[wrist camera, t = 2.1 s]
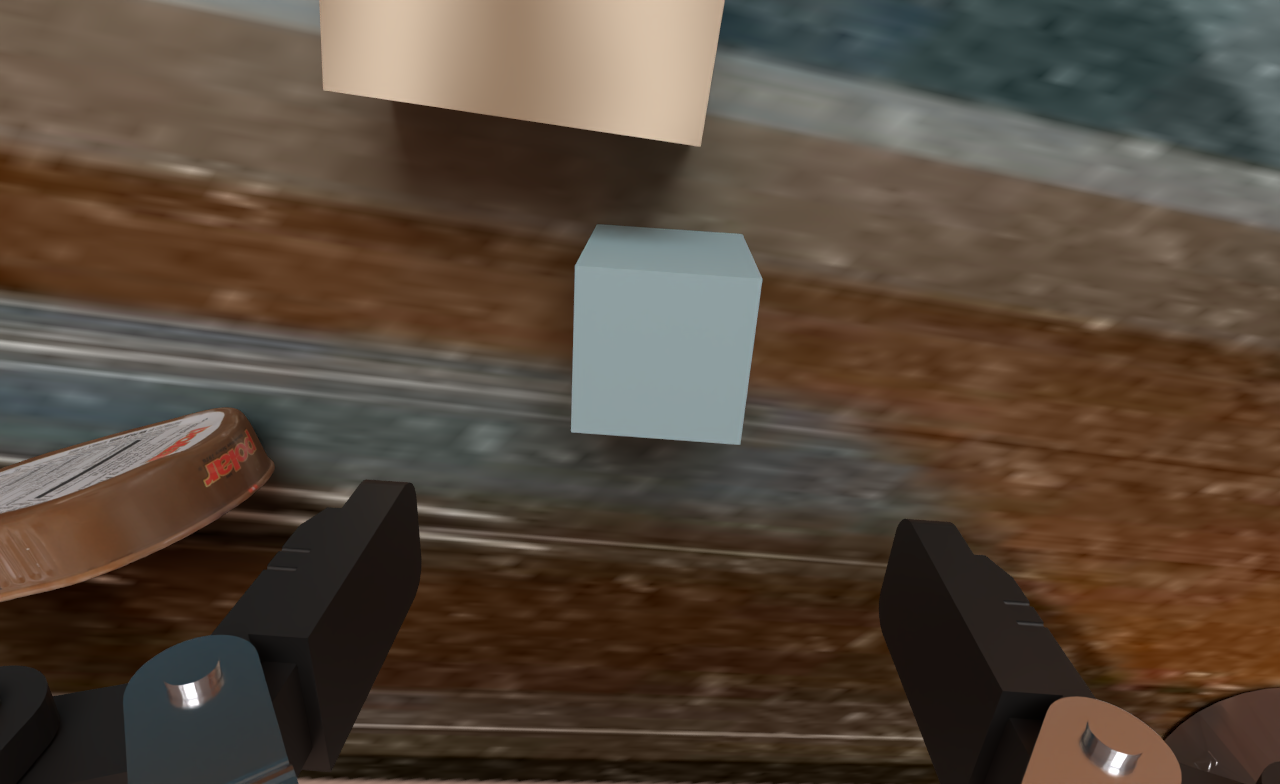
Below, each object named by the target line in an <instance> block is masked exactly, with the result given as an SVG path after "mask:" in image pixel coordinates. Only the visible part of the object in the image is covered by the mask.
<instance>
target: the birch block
mask: <svg viewBox="0 0 1280 784" xmlns="http://www.w3.org/2000/svg"><path fill="white" fill-rule="evenodd" d="M319 1H320V24H321V48H322V71H323V90H326V91H333V92H339V93H346V94H353V95H359V96H366V97H373V98H379V99H386V100H393V101H399V102H406V103H413V104H419V105H426V106H433V107H439V108H446V109H453V110H459V111H466V112H473V113H479V114H486V115H493V116H499V117H506V118H513V119H519V120H526V121H533V122H539V123H546V124H553V125H559V126H566V127H573V128H579V129H586V130H593V131H599V132H606V133H613V134H619V135H626V136H633V137H639V138H646V139H653V140H659V141H666V142H673V143H679V144H686V145H693V146H699V147H701V141H702V135H703V129H704V123H705V116H706V110H707V104H708V98H709V92H710V86H711V80H712V74H713V68H714V62H715V56H716V50H717V44H718V37H719V31H720V25H721V19H722V13H723V7H724V1H725V0H319Z"/></svg>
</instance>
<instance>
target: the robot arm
mask: <svg viewBox="0 0 1280 784" xmlns="http://www.w3.org/2000/svg"><path fill="white" fill-rule="evenodd" d="M420 574H421V549H420V537H419V524H418V512H417V500H416V492H415V488H414V486H413V484H412V483H407V482H393V481H379V480H364V481H362V482H361V484H360V485H359V486H358V487H357V489H356V490H355V491H354V493H353V494H352V495H351V497H350V498H349V499H348V501H347V502H346V503H345V505H344V506H343V507H342V508H326V509H325V510H323V511H322V512H320V513H318V514H317V515H315V516H314V517H312V518H311V519H309V520H307V521H306V522H304V523H303V524H301V525H300V526H299V527H298V528H297V530H296V531H295V532H294V533H293V534H292V536H291V537H290V538H289V539H288V541H287V542H286V543H285V544H284V546H283V547H282V551H281V552H280V551H279V552H278V553H277V554H276V555H275V557H274V558H273V559H272V560H271V562H270V563H269V564H268V567H267V570H263V571H262V573H261V574H260V575H259V576H258V578H257V579H256V580H255V581H254V582H253V584H252V585H251V586H250V587H249V589H248V590H247V591H246V592H245V594H244V595H243V596H242V597H241V598H240V600H239V601H238V602H237V603H236V605H235V606H234V607H233V608H232V610H231V611H230V612H229V613H228V614H227V616H226V617H225V618H224V619H223V621H222V622H221V623H220V624H219V626H218V627H217V628H216V629H215V630H214V632H213V633H212V634H211V635H210V636H204V637H198V638H195V639H191V640H188V641H185V642H182V643H180V644H177V645H175V646H173V647H171V648H169V649H167V650H165V651H163V652H161V653H160V654H158V655H156V656H155V657H153V658H152V659H151V660H149V661H148V662H147V663H146V664H144V665H143V666H142V667H141V668H140V669H139V670H138V671H137V672H136V673H135V675H134V676H133V677H132V678H131V680H130V682H129V683H127V684H122V685H117V686H111V687H105V688H99V689H93V690H88V691H82V692H76V693H70V694H64V695H58V696H52V694H51V691H50V689H49V686H48V683H47V681H46V678H45V677H44V675H43V674H42V673H41V672H39V671H37V670H36V669H33V668H30V667H25V666H2V667H0V784H298V781H297V777H298V775H299V773H300V771H301V770H312V771H326V772H331V771H332V768H333V766H334V764H335V762H336V760H337V758H338V756H339V754H340V752H341V750H342V748H343V746H344V743H345V741H346V739H347V737H348V735H349V733H350V731H351V729H352V727H353V725H354V723H355V721H356V719H357V716H358V714H359V712H360V710H361V708H362V706H363V704H364V702H365V700H366V698H367V696H368V694H369V692H370V689H371V687H372V685H373V683H374V681H375V679H376V677H377V675H378V673H379V671H380V669H381V667H382V665H383V662H384V660H385V658H386V656H387V654H388V652H389V650H390V648H391V646H392V644H393V642H394V640H395V637H396V635H397V633H398V631H399V629H400V627H401V625H402V623H403V621H404V619H405V617H406V615H407V613H408V610H409V608H410V606H411V604H412V602H413V600H414V598H415V595H416V592H417V589H418V585H419V581H420ZM879 618H880V625H881V629H882V633H883V636H884V638H885V641H886V643H887V646H888V649H889V651H890V654H891V656H892V659H893V662H894V664H895V667H896V669H897V672H898V675H899V677H900V680H901V682H902V685H903V688H904V690H905V693H906V695H907V698H908V700H909V703H910V706H911V708H912V711H913V713H914V716H915V719H916V721H917V724H918V726H919V729H920V732H921V734H922V737H923V739H924V742H925V745H926V747H927V750H928V752H929V755H930V757H931V760H932V763H933V765H934V768H935V770H936V773H937V776H938V778H939V781H940V783H941V784H1280V688H1269V689H1262V690H1257V691H1252V692H1248V693H1243V694H1239V695H1237V696H1234V697H1231V698H1228V699H1225V700H1222V701H1219V702H1217V703H1215V704H1213V705H1211V706H1209V707H1207V708H1205V709H1203V710H1201V711H1199V712H1198V713H1196V714H1195V715H1193V716H1192V717H1190V718H1189V719H1188V720H1186V721H1185V722H1183V723H1182V724H1181V725H1179V726H1178V727H1177V728H1176V729H1175V730H1174V731H1173V732H1172V733H1171V734H1170V735H1169V736H1168V737H1167V738H1166V740H1165V741H1164V740H1163V739H1162V738H1161V737H1160V736H1159V735H1158V734H1157V733H1156V732H1155V731H1153V730H1152V729H1151V728H1150V727H1149V726H1147V725H1146V724H1145V723H1143V722H1142V721H1141V720H1139V719H1138V718H1136V717H1135V716H1133V715H1131V714H1130V713H1128V712H1126V711H1124V710H1122V709H1120V708H1118V707H1116V706H1114V705H1111V704H1109V703H1106V702H1103V701H1100V700H1096V698H1095V697H1094V695H1093V694H1092V693H1091V691H1090V690H1089V688H1088V687H1087V685H1086V684H1085V682H1084V681H1083V679H1082V678H1081V677H1080V675H1079V674H1078V672H1077V671H1076V669H1075V668H1074V666H1073V665H1072V663H1071V662H1070V660H1069V659H1068V658H1067V656H1066V655H1065V653H1064V652H1063V650H1062V649H1061V647H1060V646H1059V644H1058V643H1057V642H1056V640H1055V639H1054V637H1053V636H1052V634H1051V633H1050V631H1049V630H1048V628H1044V627H1043V621H1042V620H1041V618H1040V617H1039V615H1038V614H1037V612H1036V611H1035V609H1034V608H1033V607H1030V606H1029V601H1028V599H1027V598H1026V596H1025V595H1024V593H1023V592H1022V591H1021V589H1020V588H1019V586H1018V585H1017V583H1016V582H1015V580H1014V579H1013V577H1011V576H1010V575H1009V574H1008V573H1006V572H1005V571H1004V570H1003V569H1001V568H1000V567H999V566H998V565H996V564H995V563H994V562H993V561H991V560H990V559H989V558H988V557H986V556H984V555H974V554H973V553H972V551H971V550H970V548H969V547H968V545H967V543H966V542H965V540H964V539H963V537H962V536H961V534H960V532H959V531H958V529H957V528H956V526H955V525H954V524H953V523H951V522H940V521H926V520H912V519H904V520H902V521H901V522H900V523H899V525H898V527H897V530H896V534H895V538H894V542H893V546H892V549H891V553H890V557H889V561H888V565H887V569H886V573H885V577H884V581H883V585H882V589H881V593H880V600H879Z"/></svg>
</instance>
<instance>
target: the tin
mask: <svg viewBox="0 0 1280 784" xmlns="http://www.w3.org/2000/svg"><path fill="white" fill-rule="evenodd" d="M274 469H275V465H274V462H273V461H272V460H271V459H270V458H268V456H267V455H266V453H265V451H264V449H263V447H262V445H261V443H260V441H259V439H258V437H257V435H256V433H255V431H254V429H253V427H252V426H251V424H250V422H249V421H248V419H247V418H246V416H245V415H244V414H243V413H242V412H241V411H239V410H237V409H235V408H227V407H225V408H215V409H210V410H205V411H201V412H196V413H193V414H189V415H185V416H182V417H178V418H174V419H170V420H166V421H162V422H158V423H155V424H151V425H147V426H143V427H139V428H135V429H131V430H127V431H123V432H120V433H116V434H113V435H109V436H105V437H102V438H98V439H95V440H91V441H87V442H84V443H80V444H77V445H73V446H70V447H67V448H63V449H60V450H56V451H53V452H49V453H46V454H43V455H40V456H37V457H34V458H30V459H27V460H25V461H22V462H19V463H16V464H13V465H10V466H7V467H5V468H2V469H0V602H2V601H7V600H12V599H15V598H19V597H23V596H28V595H32V594H37V593H42V592H47V591H51V590H55V589H58V588H62V587H66V586H70V585H73V584H77V583H80V582H83V581H86V580H89V579H92V578H94V577H97V576H99V575H102V574H105V573H108V572H110V571H113V570H116V569H119V568H121V567H123V566H126V565H128V564H129V563H132V562H134V561H137V560H139V559H141V558H143V557H146V556H148V555H150V554H152V553H154V552H157V551H159V550H161V549H163V548H166V547H167V546H169V545H171V544H173V543H175V542H177V541H179V540H181V539H183V538H185V537H187V536H189V535H190V534H192V533H194V532H196V531H197V530H199V529H201V528H203V527H205V526H207V525H208V524H210V523H212V522H213V521H215V520H217V519H218V518H220V517H221V516H223V515H224V514H226V513H227V512H229V511H231V510H232V509H233V508H235V507H236V506H238V505H239V504H241V503H242V502H244V501H245V500H247V499H248V498H249V497H250V496H252V495H253V494H254V493H255V492H256V491H257V490H259V489H260V488H261V487H262V486H263V485H264V484H265V483H266V482H267V481H268V480H269V478H270V477H271V475H272V473H273V472H274Z"/></svg>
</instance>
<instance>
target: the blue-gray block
mask: <svg viewBox="0 0 1280 784" xmlns="http://www.w3.org/2000/svg"><path fill="white" fill-rule="evenodd" d="M761 285H762V277H761V275H760V273H759V270H758V268H757V266H756V264H755V261H754V259H753V257H752V255H751V253H750V250H749V248H748V246H747V244H746V241H745V239H744V237H743V235H742V234H732V233H717V232H703V231H689V230H674V229H660V228H646V227H631V226H617V225H603V224H597V225H596V227H595V229H594V231H593V233H592V235H591V236H590V238H589V240H588V242H587V244H586V246H585V248H584V250H583V252H582V254H581V255H580V257H579V259H578V261H577V263H576V265H575V290H574V332H573V373H572V415H571V432H575V433H588V434H602V435H615V436H629V437H642V438H656V439H669V440H683V441H696V442H710V443H723V444H737V445H740V442H741V434H742V427H743V420H744V412H745V405H746V397H747V390H748V382H749V375H750V367H751V360H752V352H753V345H754V338H755V330H756V323H757V315H758V308H759V300H760V293H761Z"/></svg>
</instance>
